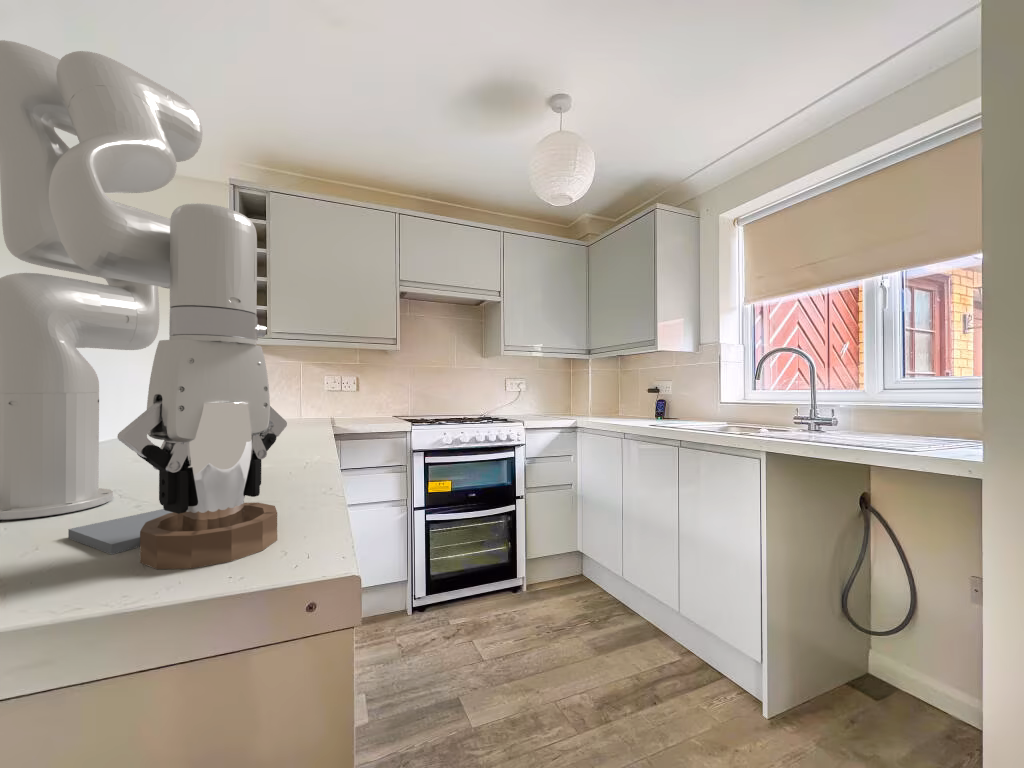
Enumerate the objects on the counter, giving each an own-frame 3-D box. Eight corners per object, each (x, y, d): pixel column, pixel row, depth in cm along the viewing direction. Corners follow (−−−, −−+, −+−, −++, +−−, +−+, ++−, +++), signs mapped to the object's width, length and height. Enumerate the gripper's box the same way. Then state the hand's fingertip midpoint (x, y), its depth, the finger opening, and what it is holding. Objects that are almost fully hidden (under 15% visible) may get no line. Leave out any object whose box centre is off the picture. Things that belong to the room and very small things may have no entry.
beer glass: (213, 562, 42) (214, 403, 42) (153, 556, 43) (154, 402, 43) (267, 537, 48) (268, 401, 48) (214, 532, 50) (215, 400, 50)
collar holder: (118, 554, 43) (119, 524, 43) (236, 522, 53) (236, 498, 53) (181, 578, 38) (181, 543, 38) (299, 538, 48) (299, 510, 48)
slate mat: (68, 538, 48) (68, 529, 48) (164, 516, 56) (164, 508, 56) (111, 554, 43) (111, 544, 43) (209, 528, 51) (209, 519, 51)
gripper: (270, 340, 55) (270, 482, 55) (89, 321, 40) (88, 520, 40) (311, 336, 52) (310, 489, 52) (130, 315, 36) (129, 532, 36)
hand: (214, 501), depth 46 cm, fingers closed on beer glass, 6 cm apart
